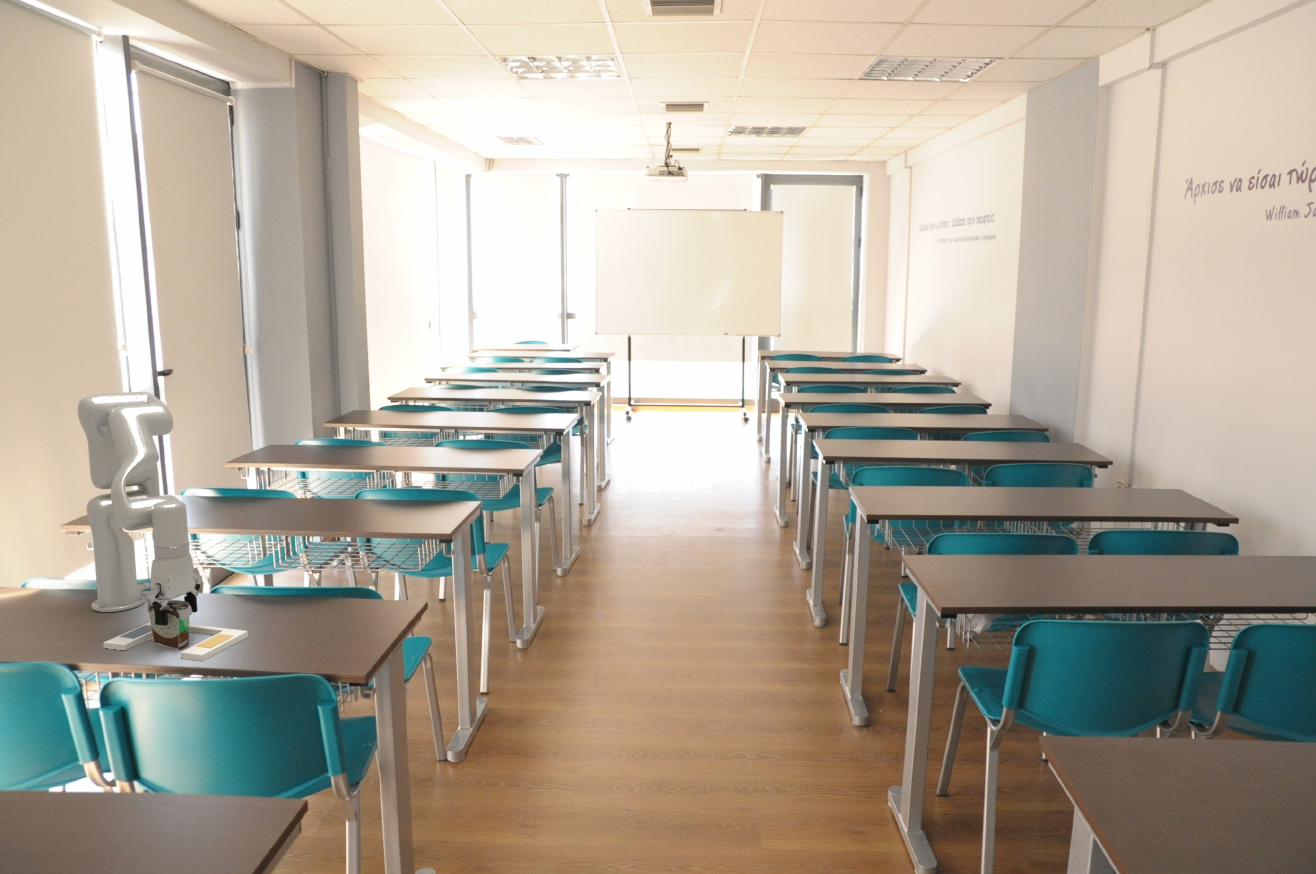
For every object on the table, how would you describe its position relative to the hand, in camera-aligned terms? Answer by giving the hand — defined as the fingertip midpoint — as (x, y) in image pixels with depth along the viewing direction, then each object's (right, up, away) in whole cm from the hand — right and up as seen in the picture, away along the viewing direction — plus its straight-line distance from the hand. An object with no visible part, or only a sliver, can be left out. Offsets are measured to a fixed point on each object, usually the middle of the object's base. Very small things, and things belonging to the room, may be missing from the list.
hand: (176, 618), depth 217 cm
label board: (-1, -6, +1) cm, 7 cm away
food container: (-1, -7, +1) cm, 7 cm away
